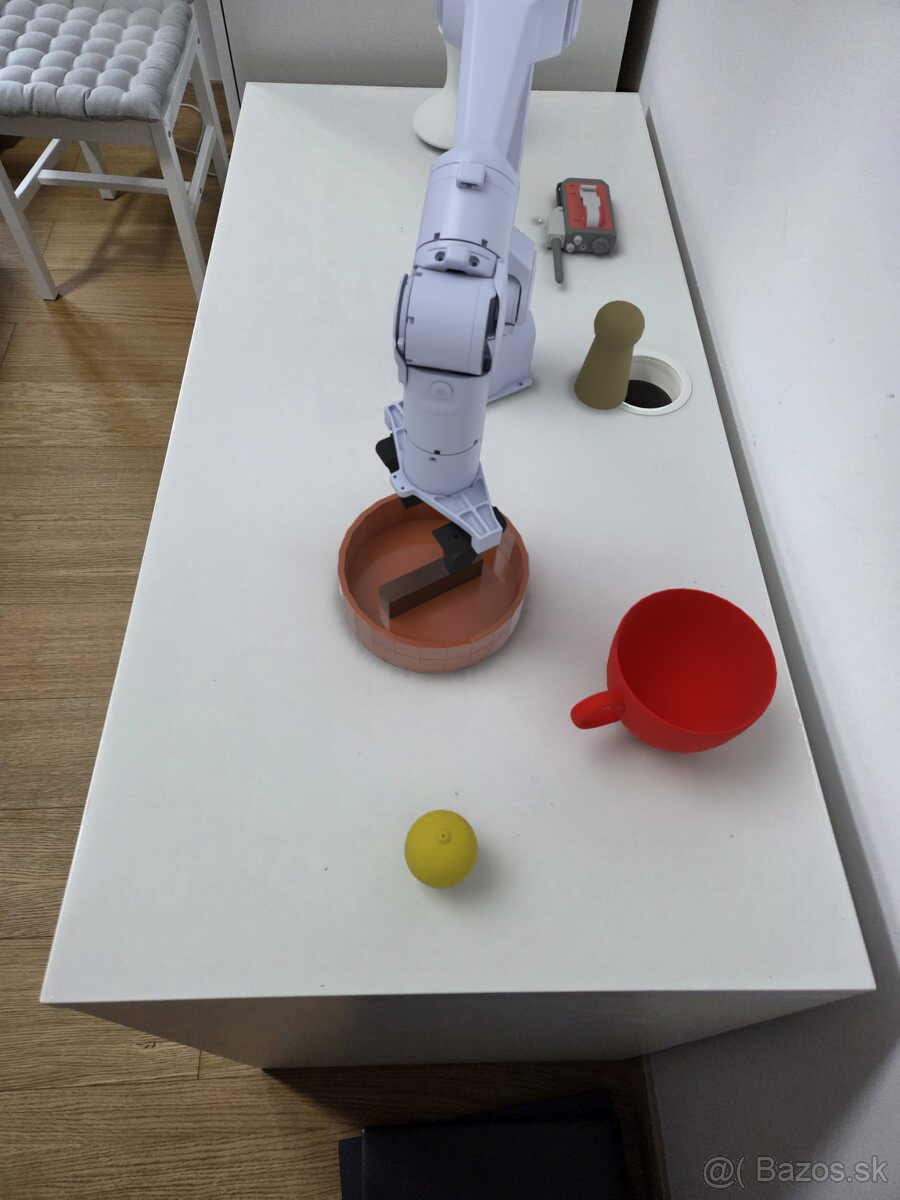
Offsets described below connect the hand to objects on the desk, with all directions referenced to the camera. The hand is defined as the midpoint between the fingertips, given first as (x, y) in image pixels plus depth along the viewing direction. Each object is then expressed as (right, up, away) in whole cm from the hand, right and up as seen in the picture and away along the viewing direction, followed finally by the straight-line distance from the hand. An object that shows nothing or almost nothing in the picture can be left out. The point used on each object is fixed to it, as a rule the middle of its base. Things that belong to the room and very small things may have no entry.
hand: (436, 534), depth 69 cm
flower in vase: (+2, +61, +47) cm, 77 cm away
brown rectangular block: (-1, -4, +8) cm, 9 cm away
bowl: (-1, -5, +8) cm, 9 cm away
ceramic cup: (+18, -16, +3) cm, 24 cm away
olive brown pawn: (+18, +18, +23) cm, 34 cm away
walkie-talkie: (+18, +41, +36) cm, 58 cm away
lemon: (0, -26, -4) cm, 27 cm away
